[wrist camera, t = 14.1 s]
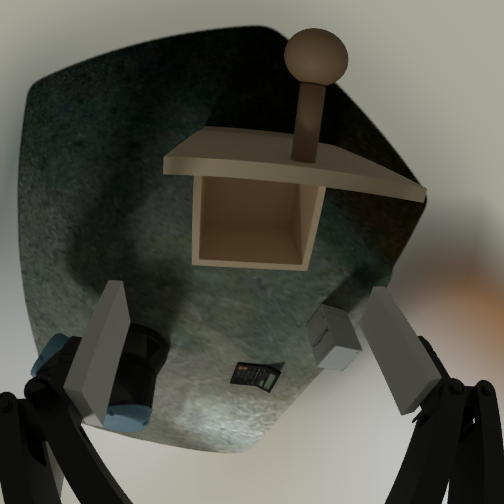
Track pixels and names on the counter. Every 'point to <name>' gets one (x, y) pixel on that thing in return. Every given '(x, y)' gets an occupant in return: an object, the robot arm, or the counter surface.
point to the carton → (254, 219)
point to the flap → (305, 136)
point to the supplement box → (332, 338)
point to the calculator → (255, 376)
